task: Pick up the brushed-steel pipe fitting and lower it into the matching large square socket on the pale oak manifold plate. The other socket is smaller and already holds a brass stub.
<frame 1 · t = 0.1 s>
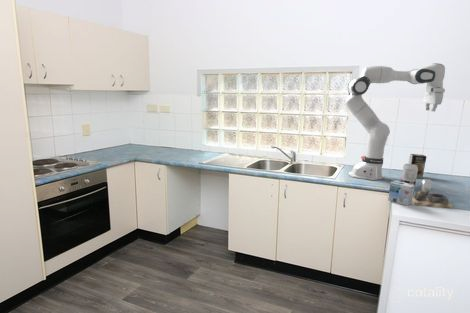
hand: (430, 110, 209), 48 cm above the worktop, fingers open, 8 cm apart
supplement can: (407, 188, 202), on the worktop
pipe fitting: (424, 196, 188), on the worktop
coffee box: (414, 176, 230), on the worktop
manifold plate: (428, 202, 177), on the worktop
light bulb box: (399, 202, 177), on the worktop
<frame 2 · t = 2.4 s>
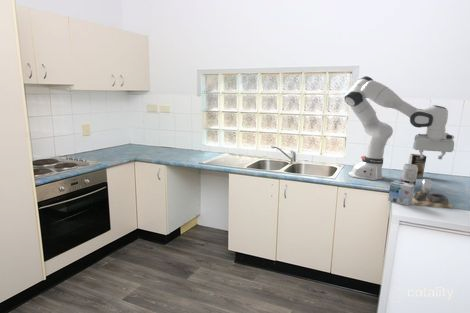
hand: (431, 158, 183), 23 cm above the worktop, fingers open, 8 cm apart
nothing on the worktop moved.
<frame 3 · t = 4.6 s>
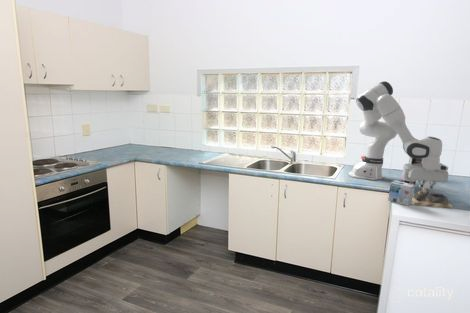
hand: (425, 187, 187), 5 cm above the worktop, fingers closed on pipe fitting, 4 cm apart
pipe fitting: (424, 196, 188), on the worktop, touching gripper
everything else where it was.
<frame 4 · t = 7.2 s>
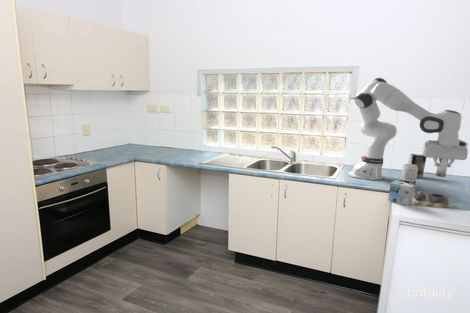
hand: (442, 166, 171), 21 cm above the worktop, fingers closed on pipe fitting, 4 cm apart
pipe fitting: (440, 176, 172), point 16 cm above the worktop, touching gripper
everything else where it was.
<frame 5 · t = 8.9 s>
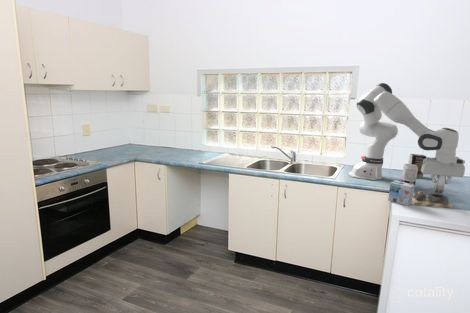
hand: (440, 183, 173), 12 cm above the worktop, fingers closed on pipe fitting, 4 cm apart
pipe fitting: (438, 192, 175), point 7 cm above the worktop, touching gripper
everything else where it was.
when the fingers open (9 cm above the worktop, at t = 10.0 s): pipe fitting drops 2 cm, resting on manifold plate.
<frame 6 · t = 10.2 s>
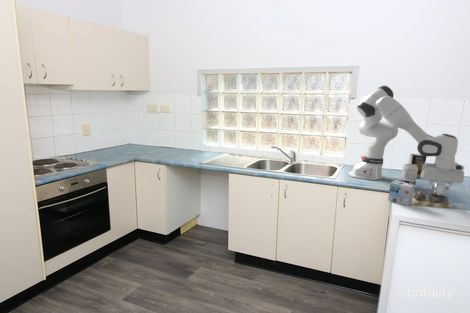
hand: (439, 188, 174), 9 cm above the worktop, fingers open, 6 cm apart
pipe fitting: (437, 200, 176), point 2 cm above the worktop, touching manifold plate
everything else where it was.
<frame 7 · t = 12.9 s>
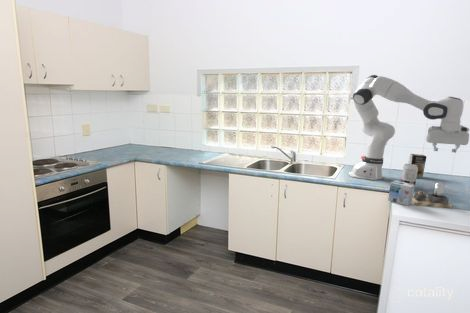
hand: (444, 151, 178), 28 cm above the worktop, fingers open, 8 cm apart
nothing on the worktop moved.
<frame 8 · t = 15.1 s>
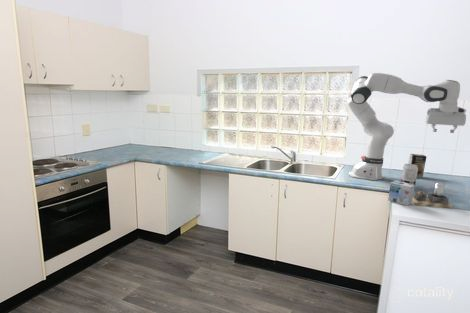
hand: (443, 132, 188), 37 cm above the worktop, fingers open, 8 cm apart
nothing on the worktop moved.
at the end: pipe fitting 0.0 cm from the target spot on the manifold plate, point 1.5 cm above the manifold plate's base; pipe fitting tilted 0°; the gripper is holding nothing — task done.
